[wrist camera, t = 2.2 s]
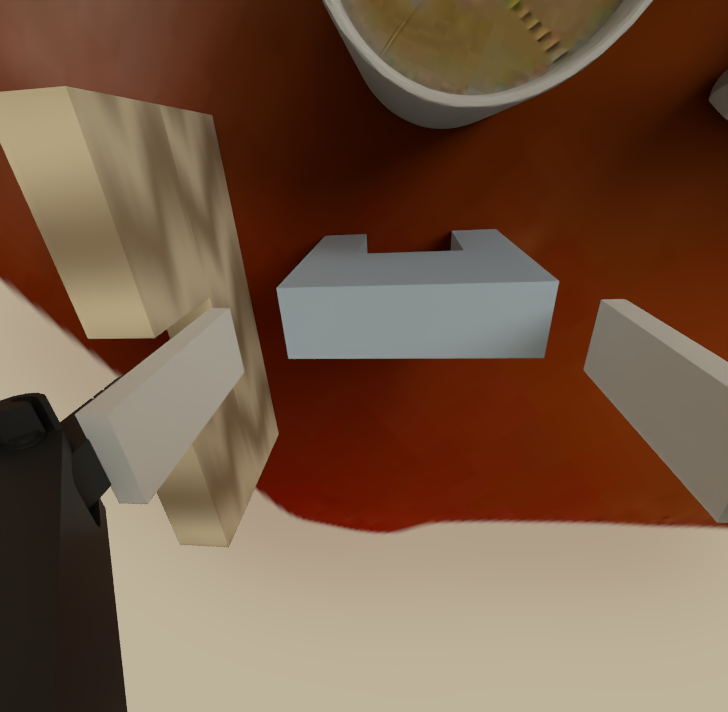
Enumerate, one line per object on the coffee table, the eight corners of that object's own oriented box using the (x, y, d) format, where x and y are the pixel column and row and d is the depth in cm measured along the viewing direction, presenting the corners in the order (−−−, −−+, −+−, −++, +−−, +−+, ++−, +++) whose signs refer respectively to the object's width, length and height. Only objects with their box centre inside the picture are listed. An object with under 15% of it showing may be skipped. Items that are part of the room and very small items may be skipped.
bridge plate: (325, 235, 23) (276, 288, 14) (495, 229, 22) (559, 281, 13) (330, 283, 24) (288, 358, 15) (490, 279, 23) (543, 357, 14)
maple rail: (160, 118, 20) (-22, 93, 12) (212, 115, 20) (65, 86, 11) (243, 433, 31) (180, 544, 22) (278, 434, 31) (228, 547, 22)
